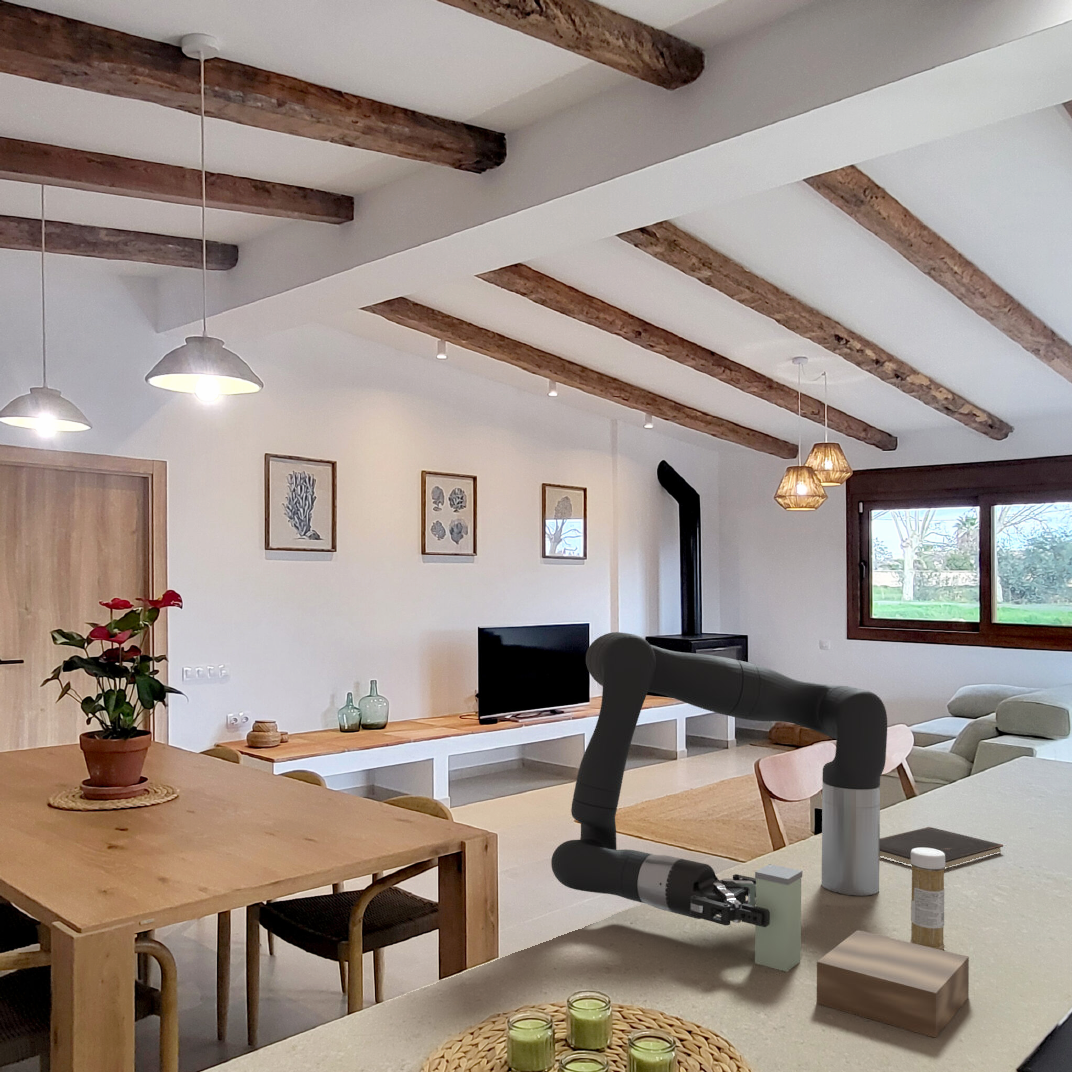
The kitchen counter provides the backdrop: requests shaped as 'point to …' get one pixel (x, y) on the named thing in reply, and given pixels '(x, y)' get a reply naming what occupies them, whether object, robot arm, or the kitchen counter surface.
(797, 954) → the green tin canister
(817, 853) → the kitchen counter surface
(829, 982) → the walnut block
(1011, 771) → the kitchen counter surface
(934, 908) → the sprinkles bottle
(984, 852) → the hardcover book
